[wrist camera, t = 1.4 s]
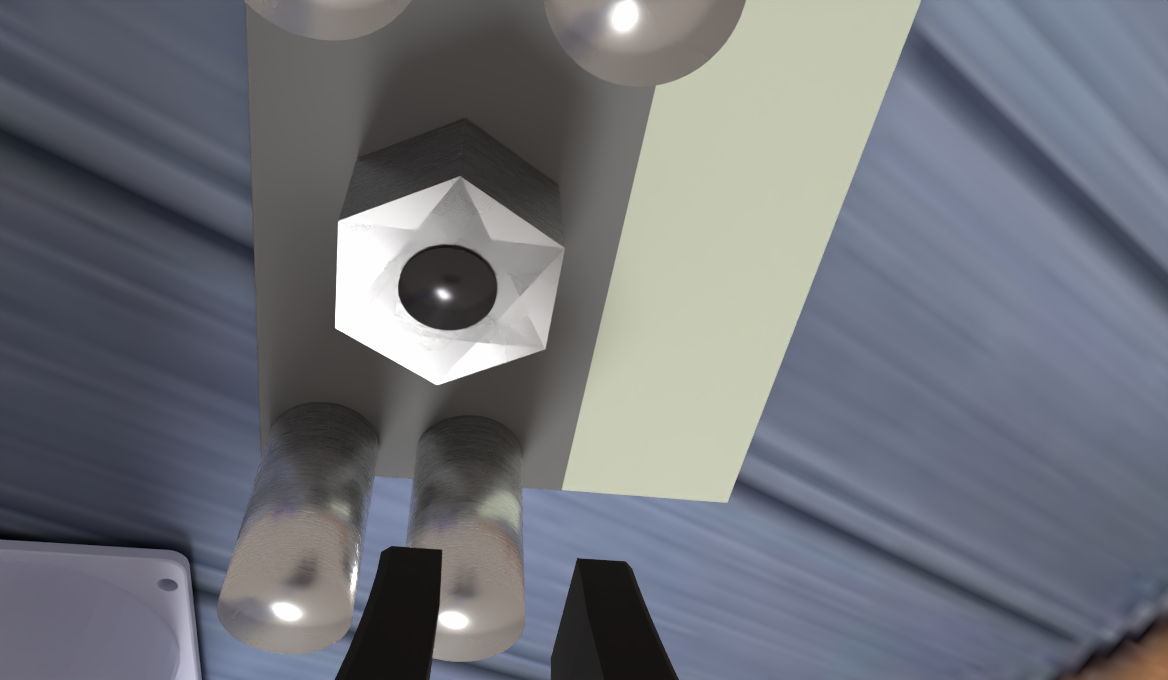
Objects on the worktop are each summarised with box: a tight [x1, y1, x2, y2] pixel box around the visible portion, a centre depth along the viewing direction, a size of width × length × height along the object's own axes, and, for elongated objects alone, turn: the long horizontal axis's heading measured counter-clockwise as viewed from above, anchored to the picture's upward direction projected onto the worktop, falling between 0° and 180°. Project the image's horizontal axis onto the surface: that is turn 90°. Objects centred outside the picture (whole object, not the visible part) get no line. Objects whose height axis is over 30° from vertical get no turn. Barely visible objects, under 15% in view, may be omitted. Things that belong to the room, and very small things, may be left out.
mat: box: [245, 0, 921, 503], centre depth 19 cm, size 15×12×1 cm
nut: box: [335, 117, 565, 385], centre depth 18 cm, size 4×5×3 cm
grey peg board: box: [217, 0, 746, 662], centre depth 17 cm, size 16×7×5 cm, turn 170°
